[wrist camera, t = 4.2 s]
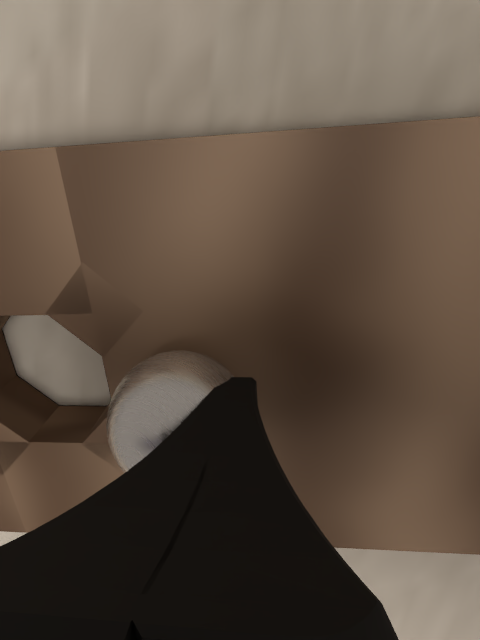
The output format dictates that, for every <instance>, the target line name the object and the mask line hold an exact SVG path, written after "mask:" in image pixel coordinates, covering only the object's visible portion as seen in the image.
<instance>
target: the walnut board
mask: <svg viewBox="0 0 480 640" xmlns="http://www.w3.org/2000/svg"><path fill="white" fill-rule="evenodd" d="M10 315H49V316H50V317H51V318H53V319H54V320H55V321H57V322H58V323H59V324H60V325H62V326H63V327H64V328H66V329H67V330H68V331H70V332H71V333H72V334H74V335H75V336H76V337H78V338H79V339H80V340H82V341H83V342H84V343H85V344H87V345H88V346H89V347H91V348H92V349H93V350H95V351H96V352H97V353H99V354H100V355H101V356H102V359H103V363H104V368H105V372H106V377H107V381H108V386H109V390H110V395H111V399H112V396H113V394H114V392H115V389H116V388H117V386H118V385H119V383H120V382H121V380H122V379H123V378H124V377H125V375H126V374H127V373H128V372H129V371H130V370H131V369H132V368H134V367H135V366H136V365H137V364H139V363H140V362H142V361H144V360H145V359H147V358H149V357H151V356H154V355H157V354H160V353H163V352H169V351H192V352H196V353H200V354H203V355H206V356H208V357H210V358H212V359H214V360H216V361H217V362H219V363H220V364H222V365H223V366H224V367H225V368H226V369H227V370H228V371H229V372H230V373H231V374H232V375H233V376H234V377H252V378H253V379H254V380H255V381H257V401H258V409H259V413H260V416H261V419H262V422H263V425H264V428H265V431H266V434H267V436H268V439H269V441H270V444H271V446H272V448H273V451H274V453H275V455H276V457H277V459H278V461H279V463H280V465H281V467H282V469H283V471H284V473H285V475H286V477H287V479H288V480H289V482H290V484H291V486H292V487H293V489H294V491H295V492H296V494H297V496H298V497H299V499H300V501H301V502H302V504H303V505H304V507H305V508H306V509H307V511H308V512H309V514H310V515H311V517H312V518H313V520H314V521H315V522H316V524H317V525H318V527H319V528H320V530H321V531H322V532H323V534H324V535H325V537H326V538H327V539H328V541H329V542H330V543H331V544H332V546H333V547H336V548H356V549H377V550H397V551H418V552H438V553H459V554H479V555H480V116H478V117H465V118H451V119H437V120H423V121H409V122H395V123H381V124H367V125H354V126H340V127H326V128H312V129H298V130H284V131H270V132H257V133H243V134H229V135H215V136H201V137H187V138H173V139H159V140H146V141H132V142H118V143H104V144H90V145H76V146H62V147H48V148H35V149H21V150H7V151H0V531H7V532H30V531H32V530H34V529H36V528H38V527H40V526H41V525H43V524H45V523H47V522H49V521H50V520H52V519H54V518H56V517H58V516H59V515H61V514H63V513H64V512H66V511H68V510H69V509H71V508H73V507H75V506H76V505H78V504H79V503H81V502H83V501H84V500H86V499H87V498H89V497H90V496H92V495H93V494H95V493H96V492H98V491H99V490H101V489H102V488H104V487H105V486H107V485H108V484H110V483H111V482H113V481H114V480H116V479H117V478H118V477H120V476H121V475H123V474H124V472H123V470H122V469H121V468H120V467H119V465H118V464H117V462H116V460H115V458H114V456H113V454H112V452H111V449H110V446H109V443H108V437H107V428H106V424H107V413H108V409H109V405H110V404H109V405H108V406H58V405H57V404H56V403H54V402H53V401H51V400H50V399H49V398H47V397H46V396H44V395H43V394H42V393H40V392H39V391H37V390H36V389H35V388H33V387H32V386H30V385H29V384H28V383H26V382H25V381H23V380H22V379H21V378H19V377H18V376H16V373H15V370H14V367H13V363H12V360H11V357H10V354H9V351H8V348H7V345H6V342H5V339H4V336H3V333H2V327H3V326H4V324H5V323H6V321H7V320H8V318H9V317H10Z"/></svg>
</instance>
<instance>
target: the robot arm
mask: <svg viewBox="0 0 480 640" xmlns="http://www.w3.org/2000/svg"><path fill="white" fill-rule="evenodd" d="M0 640H398V637H397V635H396V633H395V631H394V629H393V627H392V624H391V622H390V620H389V618H388V616H387V614H386V611H385V609H384V607H383V605H382V603H381V602H380V601H379V600H378V598H377V597H376V596H375V595H374V594H373V593H372V592H371V591H370V590H369V588H368V587H367V586H366V585H365V584H364V583H363V582H362V581H361V580H360V578H359V577H358V576H357V575H356V574H355V573H354V571H353V570H352V569H351V568H350V567H349V566H348V564H347V563H346V562H345V561H344V560H343V558H342V557H341V556H340V555H339V553H338V552H337V551H336V549H335V548H334V547H333V546H332V544H331V543H330V542H329V541H328V539H327V538H326V537H325V535H324V534H323V532H322V531H321V530H320V528H319V527H318V525H317V524H316V522H315V521H314V520H313V518H312V517H311V515H310V514H309V512H308V511H307V509H306V508H305V507H304V505H303V504H302V502H301V501H300V499H299V497H298V496H297V494H296V492H295V491H294V489H293V487H292V486H291V484H290V482H289V480H288V479H287V477H286V475H285V473H284V471H283V469H282V467H281V465H280V463H279V461H278V459H277V457H276V455H275V453H274V451H273V448H272V446H271V444H270V441H269V439H268V436H267V434H266V431H265V428H264V425H263V422H262V419H261V416H260V413H259V409H258V401H257V381H255V380H254V379H253V378H252V377H231V378H230V379H229V380H228V381H226V382H224V383H223V384H221V385H219V386H216V387H214V388H213V390H212V391H211V392H210V393H209V394H208V395H207V396H206V397H205V398H204V399H203V400H202V401H201V402H200V404H199V405H198V406H197V407H196V408H195V409H194V410H193V411H192V412H191V413H190V414H189V416H188V417H187V418H186V419H185V420H184V421H183V422H182V423H181V424H180V425H179V426H178V427H177V428H176V429H175V430H174V431H173V432H172V433H171V434H170V435H169V436H168V437H167V438H166V439H165V440H163V441H162V442H161V443H160V444H159V445H158V446H157V447H156V448H155V449H154V450H153V451H152V452H150V453H149V454H148V455H147V456H146V457H145V458H143V459H142V460H141V461H139V462H138V463H137V464H136V465H134V466H133V467H132V468H131V469H129V470H128V471H127V472H125V473H124V474H123V475H121V476H120V477H118V478H117V479H116V480H114V481H113V482H111V483H110V484H108V485H107V486H105V487H104V488H102V489H101V490H99V491H98V492H96V493H95V494H93V495H92V496H90V497H89V498H87V499H86V500H84V501H83V502H81V503H79V504H78V505H76V506H75V507H73V508H71V509H69V510H68V511H66V512H64V513H63V514H61V515H59V516H58V517H56V518H54V519H52V520H50V521H49V522H47V523H45V524H43V525H41V526H40V527H38V528H36V529H34V530H32V531H30V532H28V533H27V534H25V535H23V536H21V537H19V538H17V539H15V540H13V541H11V542H9V543H7V544H5V545H2V546H0Z"/></svg>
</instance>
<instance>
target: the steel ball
mask: <svg viewBox="0 0 480 640" xmlns="http://www.w3.org/2000/svg"><path fill="white" fill-rule="evenodd" d="M231 377H234V376H233V375H232V374H231V373H230V372H229V371H228V370H227V369H226V368H225V367H224V366H223V365H222V364H220V363H219V362H217V361H216V360H214V359H212V358H210V357H208V356H206V355H203V354H200V353H196V352H192V351H169V352H163V353H160V354H157V355H154V356H151V357H149V358H147V359H145V360H144V361H142V362H140V363H139V364H137V365H136V366H135V367H134V368H132V369H131V370H130V371H129V372H128V373H127V374H126V375H125V377H124V378H123V379H122V380H121V382H120V383H119V385H118V386H117V388H116V389H115V392H114V394H113V396H112V399H111V401H110V405H109V409H108V413H107V424H106V428H107V437H108V443H109V446H110V449H111V452H112V454H113V456H114V458H115V460H116V462H117V464H118V465H119V467H120V468H121V469H122V470H123V472H124V473H125V472H127V471H128V470H129V469H131V468H132V467H133V466H134V465H136V464H137V463H138V462H139V461H141V460H142V459H143V458H145V457H146V456H147V455H148V454H149V453H150V452H152V451H153V450H154V449H155V448H156V447H157V446H158V445H159V444H160V443H161V442H162V441H163V440H165V439H166V438H167V437H168V436H169V435H170V434H171V433H172V432H173V431H174V430H175V429H176V428H177V427H178V426H179V425H180V424H181V423H182V422H183V421H184V420H185V419H186V418H187V417H188V416H189V414H190V413H191V412H192V411H193V410H194V409H195V408H196V407H197V406H198V405H199V404H200V402H201V401H202V400H203V399H204V398H205V397H206V396H207V395H208V394H209V393H210V392H211V391H212V390H213V388H214V387H216V386H219V385H221V384H223V383H224V382H226V381H228V380H229V379H230V378H231Z"/></svg>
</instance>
